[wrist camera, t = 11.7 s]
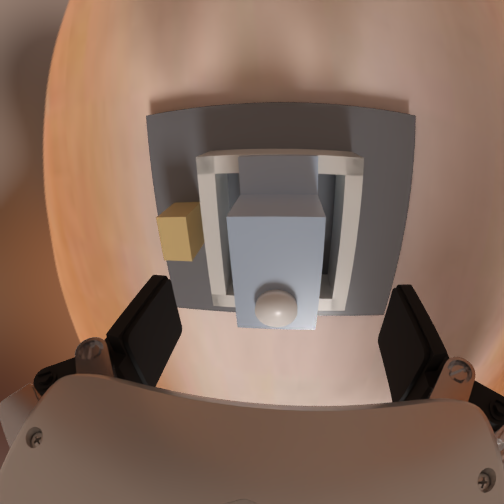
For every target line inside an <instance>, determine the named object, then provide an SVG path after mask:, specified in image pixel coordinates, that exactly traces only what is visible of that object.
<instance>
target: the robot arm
mask: <svg viewBox="0 0 504 504" xmlns="http://www.w3.org/2000/svg"><path fill="white" fill-rule="evenodd" d="M181 332H182V325H181V321H180V317H179V313H178V309H177V305H176V300H175V296H174V291H173V287H172V282H171V280H170V279H168V278H167V276H162V275H153V276H152V277H151V278H150V279H149V281H148V282H147V283H146V284H145V285H144V287H143V288H142V289H141V290H140V292H139V293H138V294H137V295H136V297H135V298H134V299H133V300H132V302H131V303H130V304H129V305H128V307H127V308H126V309H125V310H124V312H123V313H122V314H121V316H120V317H119V318H118V319H117V321H116V322H115V323H114V325H113V326H112V327H111V329H110V330H109V331H108V333H107V334H106V335H107V338H106V339H105V340H103V339H101V338H97V337H93V338H89V339H86V340H84V341H83V342H81V343H80V344H79V346H78V347H77V349H76V352H75V357H74V358H72V359H69V360H66V361H63V362H60V363H58V364H55V365H52V366H49V367H46V368H44V369H42V370H40V371H39V372H38V373H37V375H36V376H35V378H34V384H33V385H32V384H31V383H29V384H27V385H26V386H24V387H23V388H21V389H20V390H18V391H17V392H15V393H13V394H12V395H11V396H9V397H8V398H6V399H5V400H3V401H2V402H1V404H0V421H1V424H2V427H3V430H4V433H5V436H6V439H7V441H8V444H9V447H10V450H9V452H8V454H7V456H6V459H5V461H4V463H3V465H2V468H1V470H0V504H504V397H503V396H502V395H500V394H498V393H496V392H494V391H493V390H491V389H489V388H487V387H485V386H484V385H482V384H480V383H478V382H477V381H475V370H474V368H473V366H472V365H471V364H470V362H469V361H467V360H465V359H463V358H460V357H453V358H450V359H449V356H448V354H447V351H446V349H445V347H444V345H443V343H442V341H441V339H440V337H439V335H438V333H437V331H436V329H435V327H434V325H433V323H432V321H431V319H430V317H429V315H428V313H427V312H426V310H425V308H424V306H423V304H422V303H421V301H420V299H419V297H418V296H417V294H416V292H415V290H414V289H413V287H412V286H411V285H398V286H397V287H396V288H394V289H393V291H392V294H391V298H390V301H389V305H388V308H387V311H386V315H385V318H384V321H383V324H382V327H381V330H380V333H379V337H378V344H379V348H380V352H381V355H382V359H383V363H384V367H385V371H386V375H387V379H388V383H389V388H390V392H391V397H392V401H393V402H392V403H381V404H367V405H350V406H290V405H271V404H259V403H248V402H239V401H230V400H223V399H216V398H209V397H203V396H197V395H191V394H186V393H181V392H176V391H171V390H166V389H162V388H157V387H156V384H157V382H158V380H159V378H160V376H161V374H162V372H163V370H164V368H165V366H166V364H167V362H168V360H169V358H170V355H171V353H172V351H173V349H174V347H175V345H176V343H177V341H178V339H179V337H180V335H181Z"/></svg>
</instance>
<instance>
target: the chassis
mask: <svg viewBox="0 0 504 504" xmlns="http://www.w3.org/2000/svg"><path fill="white" fill-rule="evenodd" d="M146 119H147V132H148V143H149V152H150V161H151V170H152V178H153V185H154V192H155V199H156V206H157V212H158V216H157V217H156V219H157V225H158V231H159V236H160V241H161V246H162V251H163V256H164V260H166V261H167V266H168V270H169V275H170V279H171V282H172V287H173V291H174V296H175V300H176V305H177V307H179V308H189V309H200V310H212V311H226V312H236V307H235V298H234V289H233V279H232V270H231V260H230V250H229V239H228V229H227V218H226V217H227V215H228V213H229V212H230V210H231V209H232V207H233V205H234V204H235V202H236V201H237V199H238V198H239V196H240V180H239V164H238V157H239V156H240V155H277V154H297V155H318V197H319V200H320V202H321V205H322V208H323V211H324V213H325V216H326V223H325V239H324V253H323V265H322V276H321V286H320V296H319V304H318V313H317V315H322V316H358V315H384V311H385V308H386V305H387V301H388V298H389V294H390V291H391V287H392V283H393V280H394V276H395V272H396V268H397V263H398V259H399V255H400V250H401V245H402V240H403V235H404V230H405V224H406V218H407V212H408V206H409V199H410V191H411V183H412V173H413V162H414V148H415V122H416V116H415V115H410V114H405V113H399V112H393V111H387V110H381V109H374V108H366V107H358V106H348V105H337V104H322V103H296V102H269V103H243V104H228V105H217V106H207V107H198V108H190V109H183V110H176V111H170V112H164V113H158V114H153V115H148V116H146Z"/></svg>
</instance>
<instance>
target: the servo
mask: <svg viewBox="0 0 504 504" xmlns="http://www.w3.org/2000/svg"><path fill="white" fill-rule="evenodd" d="M238 164H239V180H240V196H239V198H238V199H237V201H236V202H235V204H234V205H233V207H232V209H231V210H230V212H229V213H228V215H227V217H226V218H227V229H228V239H229V250H230V260H231V270H232V279H233V289H234V298H235V307H236V316H237V325H238V327H244V328H263V329H295V330H315V329H316V321H317V313H318V304H319V296H320V286H321V276H322V265H323V253H324V239H325V223H326V216H325V213H324V211H323V208H322V205H321V202H320V200H319V197H318V155H297V154H277V155H240V156H239V157H238Z"/></svg>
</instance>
